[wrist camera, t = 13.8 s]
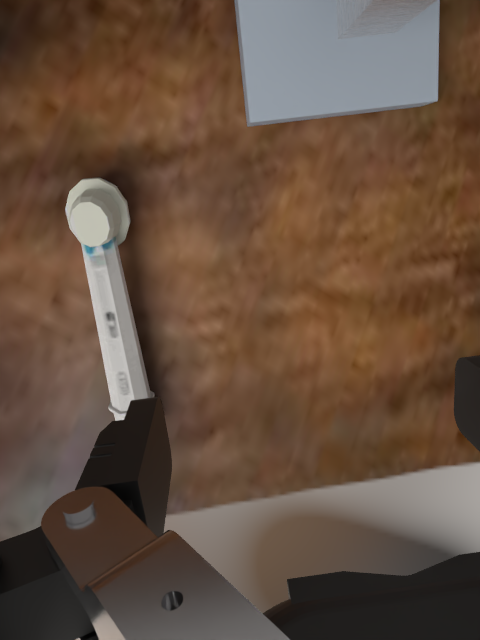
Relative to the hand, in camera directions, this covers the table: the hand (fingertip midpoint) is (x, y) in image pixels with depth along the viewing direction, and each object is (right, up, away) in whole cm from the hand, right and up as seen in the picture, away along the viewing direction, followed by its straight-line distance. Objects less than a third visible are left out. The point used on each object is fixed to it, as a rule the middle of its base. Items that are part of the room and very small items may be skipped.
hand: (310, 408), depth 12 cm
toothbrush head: (-14, +3, +33) cm, 36 cm away
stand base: (+6, +26, +27) cm, 38 cm away
